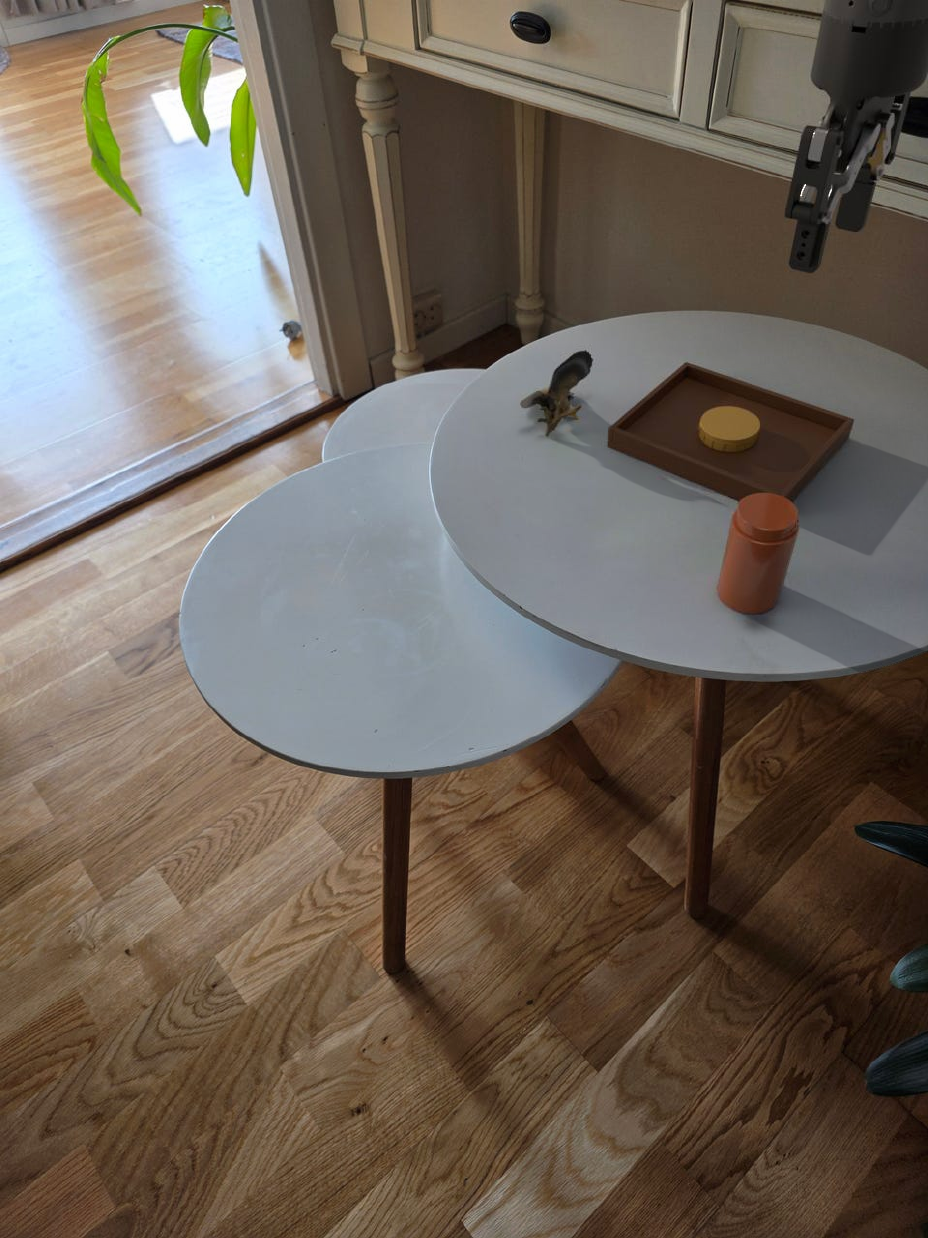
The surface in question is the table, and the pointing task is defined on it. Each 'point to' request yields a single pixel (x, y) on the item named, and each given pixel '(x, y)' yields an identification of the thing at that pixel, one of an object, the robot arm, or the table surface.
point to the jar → (758, 552)
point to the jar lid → (729, 429)
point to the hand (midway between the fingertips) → (826, 248)
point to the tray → (774, 464)
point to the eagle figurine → (560, 390)
